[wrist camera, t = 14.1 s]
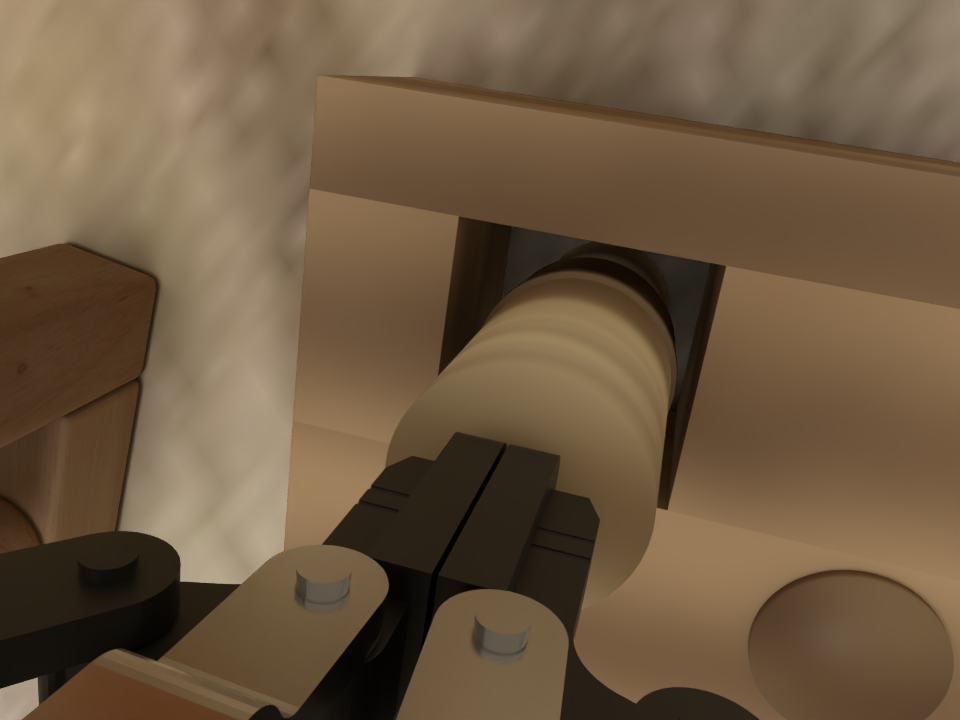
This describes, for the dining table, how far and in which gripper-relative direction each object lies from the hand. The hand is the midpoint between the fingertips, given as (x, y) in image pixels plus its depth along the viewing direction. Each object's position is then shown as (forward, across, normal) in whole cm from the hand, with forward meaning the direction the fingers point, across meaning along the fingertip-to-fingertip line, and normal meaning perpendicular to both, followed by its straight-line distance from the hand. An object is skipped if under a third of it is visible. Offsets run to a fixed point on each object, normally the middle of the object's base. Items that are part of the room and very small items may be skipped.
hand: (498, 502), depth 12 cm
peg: (+12, 0, 0) cm, 12 cm away
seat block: (+12, -3, +2) cm, 13 cm away
